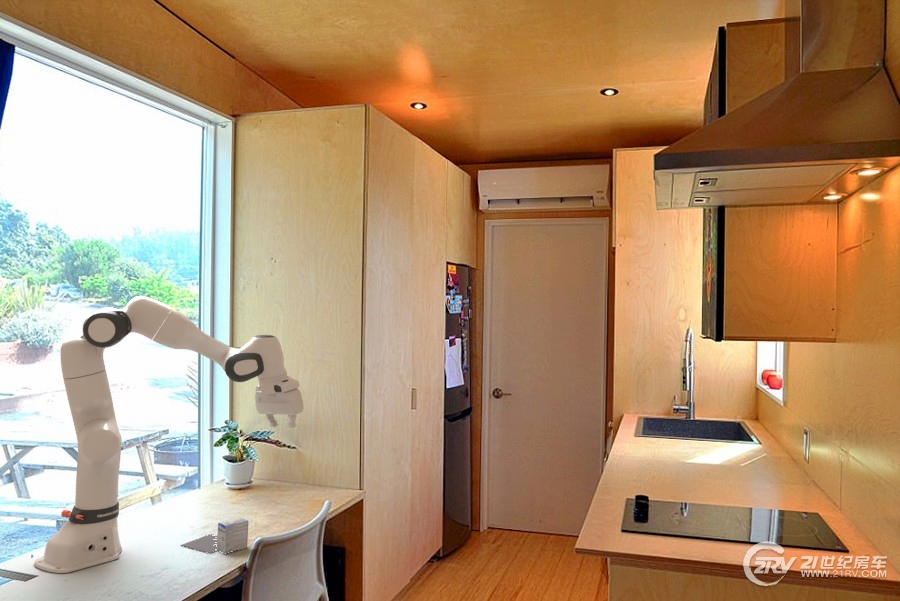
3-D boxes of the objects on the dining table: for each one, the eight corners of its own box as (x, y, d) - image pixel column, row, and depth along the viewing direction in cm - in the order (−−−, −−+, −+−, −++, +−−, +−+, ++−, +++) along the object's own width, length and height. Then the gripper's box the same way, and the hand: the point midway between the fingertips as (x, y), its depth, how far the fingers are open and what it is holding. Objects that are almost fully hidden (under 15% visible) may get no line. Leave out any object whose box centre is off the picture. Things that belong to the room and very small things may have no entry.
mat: (209, 553, 204) (209, 552, 204) (180, 546, 209) (180, 545, 209) (239, 541, 214) (239, 540, 214) (210, 534, 220) (210, 533, 220)
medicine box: (239, 544, 212) (240, 516, 212) (247, 548, 209) (248, 519, 209) (216, 551, 206) (217, 522, 206) (224, 555, 203) (225, 525, 203)
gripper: (246, 387, 221) (255, 429, 222) (286, 387, 208) (295, 431, 209) (263, 382, 226) (271, 423, 227) (302, 381, 213) (311, 424, 214)
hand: (283, 427), depth 218 cm, fingers open, 8 cm apart
